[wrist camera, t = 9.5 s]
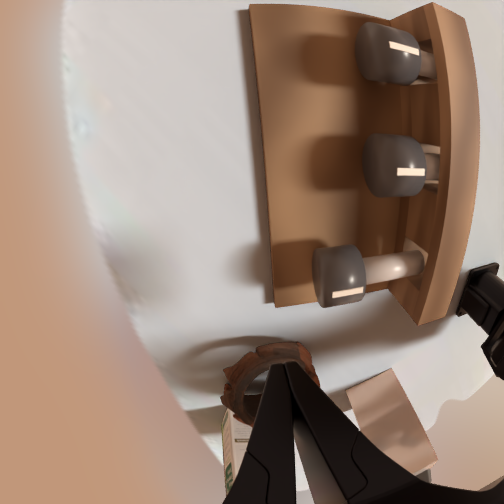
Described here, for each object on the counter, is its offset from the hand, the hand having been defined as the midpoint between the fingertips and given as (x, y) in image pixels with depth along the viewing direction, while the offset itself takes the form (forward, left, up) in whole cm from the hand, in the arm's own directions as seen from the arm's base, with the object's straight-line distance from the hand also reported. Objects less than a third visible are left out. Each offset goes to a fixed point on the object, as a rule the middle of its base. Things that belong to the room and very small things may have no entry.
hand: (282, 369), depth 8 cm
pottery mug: (-1, +15, -12) cm, 20 cm away
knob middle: (-11, -5, -10) cm, 16 cm away
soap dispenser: (-14, +25, -12) cm, 31 cm away
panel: (-8, -5, -12) cm, 15 cm away
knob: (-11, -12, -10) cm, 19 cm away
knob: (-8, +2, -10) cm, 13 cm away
